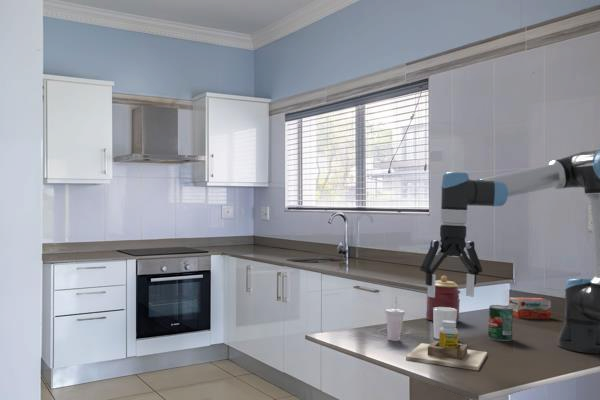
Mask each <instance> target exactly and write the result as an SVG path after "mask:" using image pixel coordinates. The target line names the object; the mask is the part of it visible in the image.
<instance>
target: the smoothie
mask: <svg viewBox="0 0 600 400" xmlns="http://www.w3.org/2000/svg"><path fill="white" fill-rule="evenodd" d="M397 303H398V297H397V296H395V299H394V308H386V309H385V312H384V313H385V316H386V317H385V318H386V329H387V332H386V333H387V340H388V341H390V340H391V341H390V342H399V341H400V338H401V333H402V327H403V321H404V315H405V314H406V313H405V310H403V309H399V308H397V305H398V304H397Z"/></svg>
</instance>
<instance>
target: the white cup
mask: <svg viewBox="0 0 600 400" xmlns="http://www.w3.org/2000/svg"><path fill="white" fill-rule="evenodd" d="M456 318H457V309H454V308H448V307H434V308H433V321H432V322H433V324H432V325H433V338H434V339H436V340H439V333H440V329H441V328H442V327H443V326H442V321H444V320H449V321H455V322H456ZM456 323H457V322H456ZM456 327H457V326H456ZM456 327H455V328H456ZM456 329H457V328H456Z"/></svg>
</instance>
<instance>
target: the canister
mask: <svg viewBox="0 0 600 400" xmlns="http://www.w3.org/2000/svg"><path fill="white" fill-rule="evenodd" d="M458 287H459V285H458V284H457V283H456V281H451V280H448V277H447V276H446V275H442V276H441V277H440V279H437V280H436V279H435V298H432V297H429V296H426V311H425V317H426V319H427V320H429V321H431V322H433V308H434V307H448V308H454V309H457V318H456V323H458V322H459V321H460V320H459V319H460V304H461V303H460V302H461V299H460V293H461V291H460V290H459V288H458ZM426 291H427V292H428V288H426Z"/></svg>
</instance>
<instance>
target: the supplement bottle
mask: <svg viewBox="0 0 600 400" xmlns="http://www.w3.org/2000/svg"><path fill="white" fill-rule="evenodd" d="M442 326H443V327H442V328H441V329H440V333H439V339H438V341H439V347H443V348H451V349H458V344H459V342H458V341H459V331H458V329H457V328H455V327H457V322H455V321H449V320H444V321H442Z"/></svg>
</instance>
